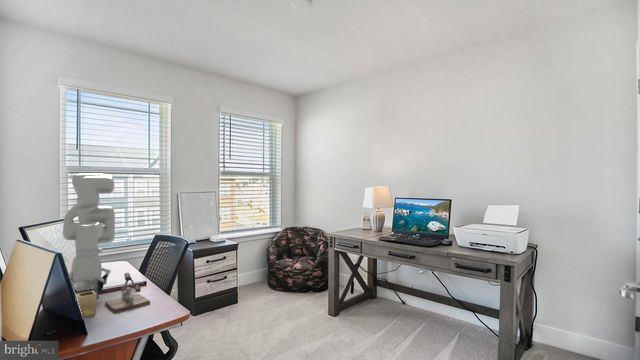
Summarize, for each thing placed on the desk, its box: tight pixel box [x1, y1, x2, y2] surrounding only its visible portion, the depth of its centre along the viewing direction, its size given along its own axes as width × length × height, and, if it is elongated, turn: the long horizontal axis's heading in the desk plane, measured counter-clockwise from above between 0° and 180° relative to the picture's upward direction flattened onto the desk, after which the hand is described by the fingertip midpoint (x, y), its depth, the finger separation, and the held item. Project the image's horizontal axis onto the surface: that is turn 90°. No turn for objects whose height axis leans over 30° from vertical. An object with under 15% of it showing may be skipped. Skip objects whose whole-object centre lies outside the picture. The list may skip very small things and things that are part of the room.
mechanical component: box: [87, 277, 108, 298], centre depth 151 cm, size 3×10×10 cm, turn 78°
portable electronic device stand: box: [121, 272, 141, 294], centre depth 162 cm, size 9×8×8 cm
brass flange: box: [75, 290, 98, 319], centre depth 134 cm, size 12×6×8 cm, turn 50°
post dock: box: [104, 287, 151, 314], centre depth 143 cm, size 13×14×8 cm
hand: (86, 293), depth 133 cm, fingers open, 9 cm apart
